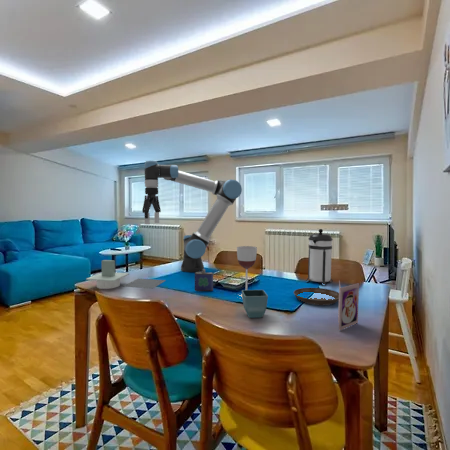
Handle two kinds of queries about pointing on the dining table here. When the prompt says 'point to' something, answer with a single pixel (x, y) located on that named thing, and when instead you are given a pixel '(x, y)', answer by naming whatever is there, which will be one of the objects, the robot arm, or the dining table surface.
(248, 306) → the flower pot
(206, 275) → the flask
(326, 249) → the coffee press
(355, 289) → the greeting card
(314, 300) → the plant saucer
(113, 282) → the bowl
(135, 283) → the mat
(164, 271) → the dining table surface
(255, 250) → the wineglass
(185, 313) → the dining table surface
